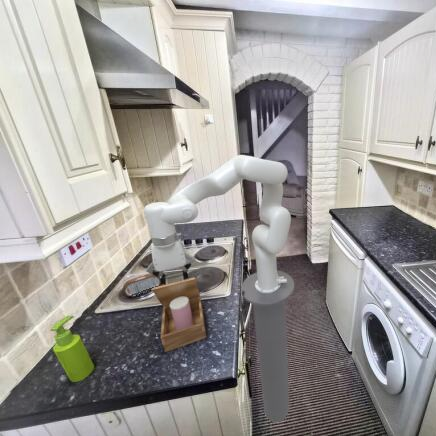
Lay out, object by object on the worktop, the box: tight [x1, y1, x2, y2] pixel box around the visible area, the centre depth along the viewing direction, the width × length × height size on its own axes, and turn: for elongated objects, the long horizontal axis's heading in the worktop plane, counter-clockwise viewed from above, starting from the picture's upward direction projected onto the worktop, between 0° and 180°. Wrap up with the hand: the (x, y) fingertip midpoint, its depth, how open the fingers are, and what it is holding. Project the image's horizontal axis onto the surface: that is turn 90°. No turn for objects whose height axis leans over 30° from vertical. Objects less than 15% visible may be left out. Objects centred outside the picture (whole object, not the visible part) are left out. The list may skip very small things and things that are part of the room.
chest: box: [160, 296, 207, 353], centre depth 86 cm, size 16×14×7 cm
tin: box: [122, 273, 162, 298], centre depth 107 cm, size 15×3×8 cm, turn 126°
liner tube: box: [170, 296, 194, 331], centre depth 85 cm, size 6×6×12 cm
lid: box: [151, 270, 201, 308], centre depth 87 cm, size 16×14×6 cm
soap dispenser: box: [49, 315, 95, 383], centre depth 69 cm, size 6×7×20 cm
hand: (175, 281), depth 84 cm, fingers closed on lid, 6 cm apart
